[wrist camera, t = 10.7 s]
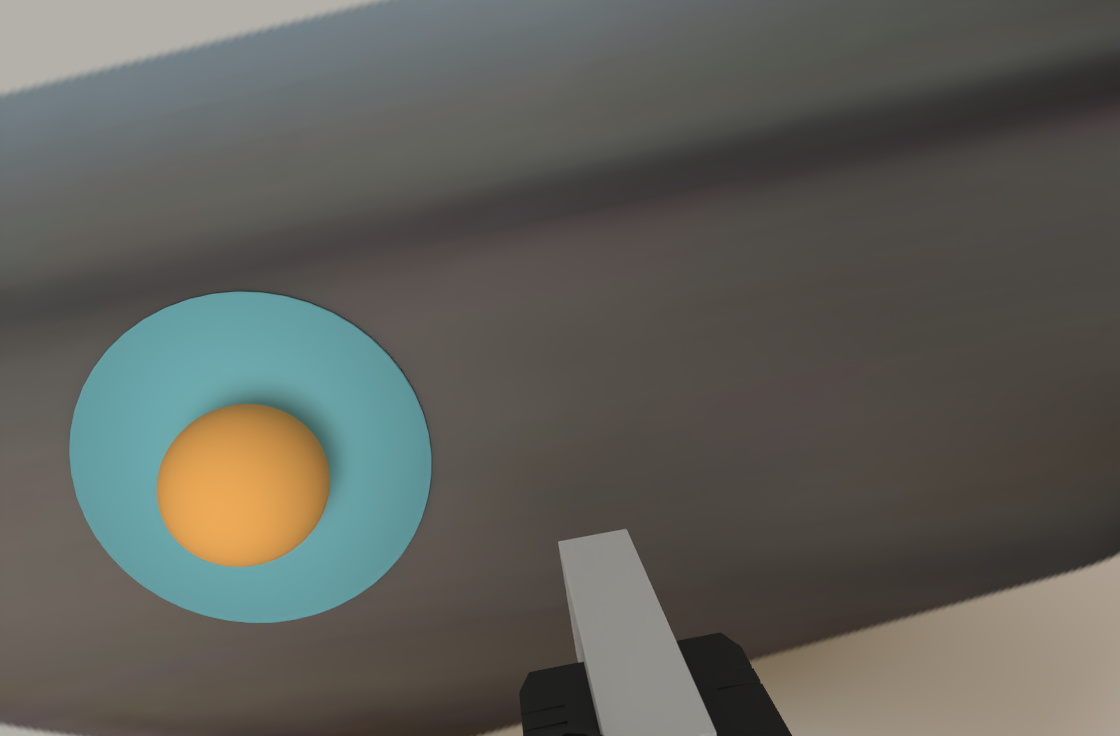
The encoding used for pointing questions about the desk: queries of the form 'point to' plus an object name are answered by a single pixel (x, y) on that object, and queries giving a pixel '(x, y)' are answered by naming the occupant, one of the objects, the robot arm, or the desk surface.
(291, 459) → the ball
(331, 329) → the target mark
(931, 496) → the desk surface
